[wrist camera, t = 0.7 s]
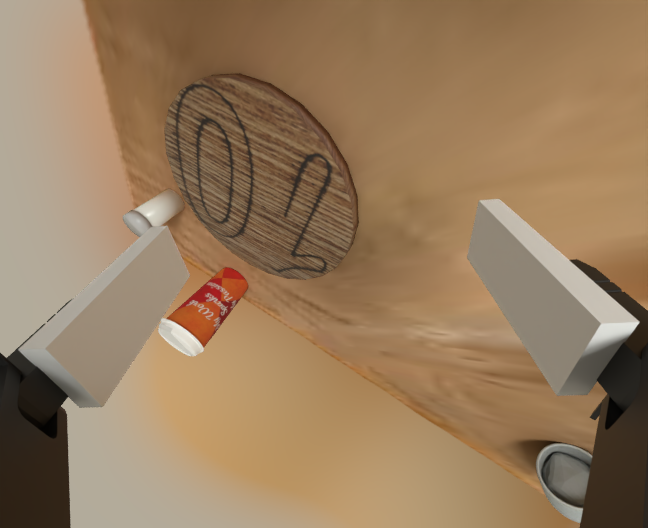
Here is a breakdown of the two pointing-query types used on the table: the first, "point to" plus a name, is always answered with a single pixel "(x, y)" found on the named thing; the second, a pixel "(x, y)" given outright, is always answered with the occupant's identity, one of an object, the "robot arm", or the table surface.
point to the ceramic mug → (564, 477)
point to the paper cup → (203, 312)
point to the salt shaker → (154, 212)
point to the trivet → (262, 175)
